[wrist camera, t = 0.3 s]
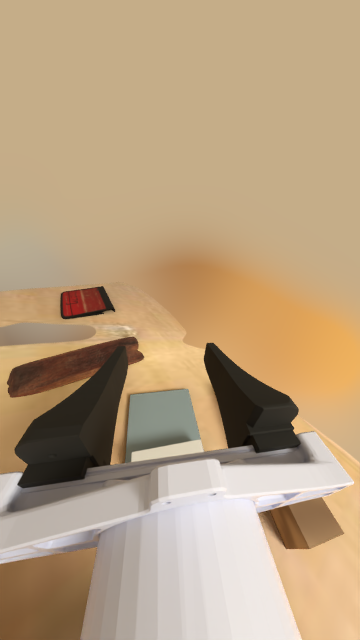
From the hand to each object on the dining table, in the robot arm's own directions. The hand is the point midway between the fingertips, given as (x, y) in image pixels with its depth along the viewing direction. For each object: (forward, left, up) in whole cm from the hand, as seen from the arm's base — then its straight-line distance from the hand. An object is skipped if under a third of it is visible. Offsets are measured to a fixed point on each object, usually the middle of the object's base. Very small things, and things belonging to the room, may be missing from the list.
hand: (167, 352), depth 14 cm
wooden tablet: (+18, +15, -22) cm, 32 cm away
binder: (+48, +23, -22) cm, 58 cm away
